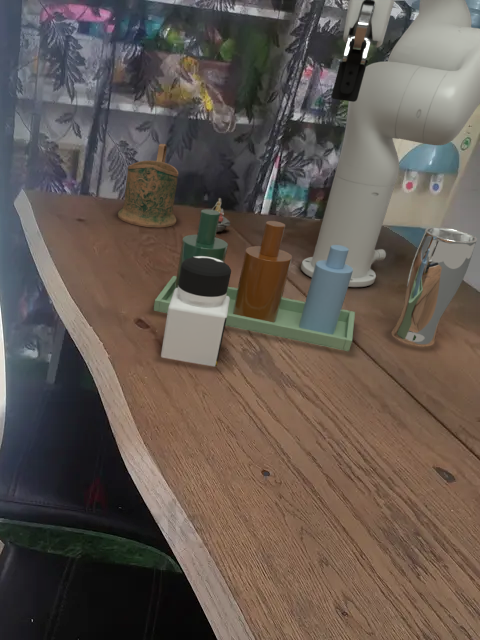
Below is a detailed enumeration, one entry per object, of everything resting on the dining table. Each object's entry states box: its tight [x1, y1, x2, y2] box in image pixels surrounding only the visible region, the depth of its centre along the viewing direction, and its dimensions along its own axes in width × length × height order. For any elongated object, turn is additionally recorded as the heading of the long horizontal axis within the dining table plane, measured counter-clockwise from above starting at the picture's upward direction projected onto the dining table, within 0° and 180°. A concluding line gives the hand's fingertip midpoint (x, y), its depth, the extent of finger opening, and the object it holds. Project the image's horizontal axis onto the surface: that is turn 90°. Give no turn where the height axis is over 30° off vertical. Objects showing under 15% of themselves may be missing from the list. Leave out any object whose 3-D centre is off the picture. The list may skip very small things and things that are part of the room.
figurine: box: [211, 197, 231, 233], centre depth 140 cm, size 5×4×6 cm
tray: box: [153, 275, 356, 352], centre depth 107 cm, size 28×12×2 cm, turn 72°
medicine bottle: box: [160, 256, 232, 367], centre depth 92 cm, size 7×7×12 cm
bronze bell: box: [117, 143, 179, 228], centre depth 144 cm, size 12×18×12 cm, turn 167°
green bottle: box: [175, 208, 229, 289], centre depth 105 cm, size 6×6×13 cm
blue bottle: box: [299, 245, 353, 334], centre depth 102 cm, size 5×5×12 cm
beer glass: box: [391, 226, 478, 347], centre depth 102 cm, size 7×7×15 cm
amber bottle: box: [233, 220, 293, 322], centre depth 103 cm, size 6×6×13 cm
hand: (345, 95), depth 98 cm, fingers open, 9 cm apart
